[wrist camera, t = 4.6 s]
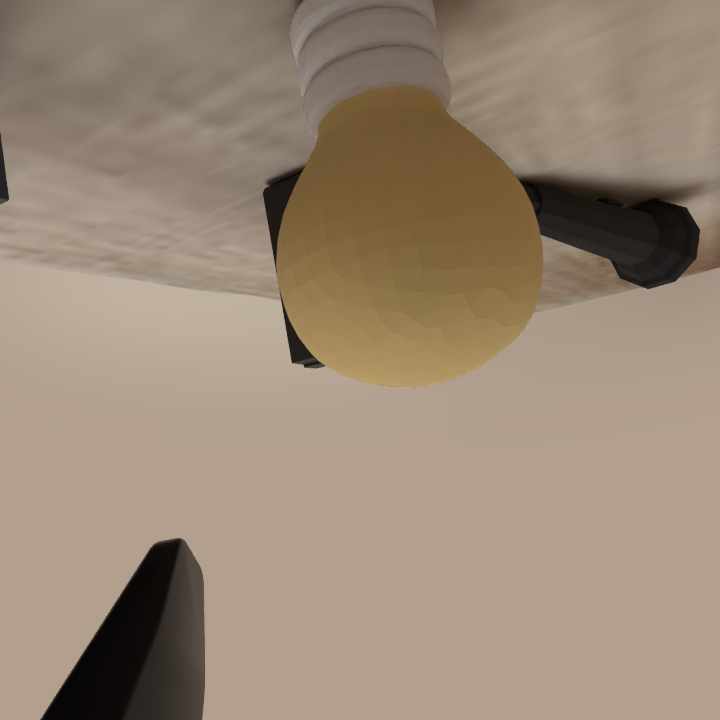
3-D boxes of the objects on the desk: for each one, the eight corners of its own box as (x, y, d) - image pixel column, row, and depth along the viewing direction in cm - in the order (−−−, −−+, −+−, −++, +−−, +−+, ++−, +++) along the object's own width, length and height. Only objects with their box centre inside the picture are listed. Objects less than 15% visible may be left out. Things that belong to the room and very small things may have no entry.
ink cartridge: (363, 192, 30) (394, 357, 29) (323, 208, 31) (352, 367, 30) (305, 164, 25) (339, 357, 24) (261, 183, 26) (292, 369, 26)
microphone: (440, 138, 32) (641, 210, 44) (427, 250, 33) (629, 291, 45) (526, 119, 28) (722, 205, 40) (509, 248, 28) (709, 294, 40)
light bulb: (194, 50, 17) (255, 417, 16) (313, -150, 12) (413, 379, 11) (381, 89, 20) (439, 388, 19) (535, -50, 15) (624, 348, 14)
